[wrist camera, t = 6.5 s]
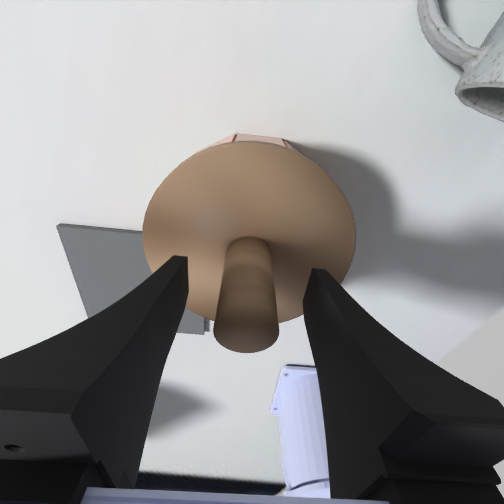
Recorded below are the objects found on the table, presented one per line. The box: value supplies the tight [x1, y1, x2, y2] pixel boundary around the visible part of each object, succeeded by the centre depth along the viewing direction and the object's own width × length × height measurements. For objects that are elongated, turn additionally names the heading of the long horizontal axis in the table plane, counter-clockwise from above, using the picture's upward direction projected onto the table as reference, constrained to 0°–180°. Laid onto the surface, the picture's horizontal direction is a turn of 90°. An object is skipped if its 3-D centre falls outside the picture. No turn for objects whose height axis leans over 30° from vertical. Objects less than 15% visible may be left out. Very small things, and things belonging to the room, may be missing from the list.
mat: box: [56, 224, 205, 335], centre depth 20 cm, size 10×10×1 cm
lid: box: [142, 141, 356, 353], centre depth 12 cm, size 11×11×6 cm
